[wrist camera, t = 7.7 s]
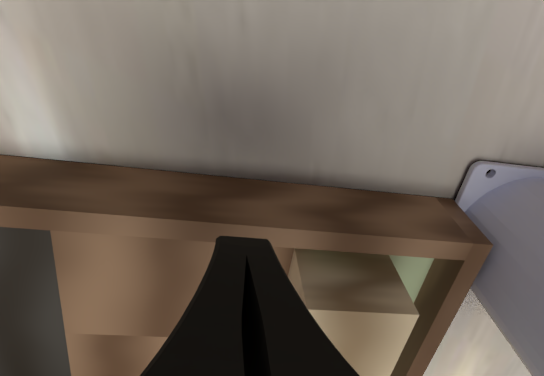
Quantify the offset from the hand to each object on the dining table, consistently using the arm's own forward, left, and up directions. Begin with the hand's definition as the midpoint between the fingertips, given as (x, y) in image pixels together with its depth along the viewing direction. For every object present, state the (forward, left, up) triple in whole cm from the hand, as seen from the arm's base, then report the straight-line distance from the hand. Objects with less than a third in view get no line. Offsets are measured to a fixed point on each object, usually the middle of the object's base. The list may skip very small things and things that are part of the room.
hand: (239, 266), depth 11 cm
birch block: (-6, +8, -7) cm, 12 cm away
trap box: (+1, +11, -9) cm, 15 cm away
